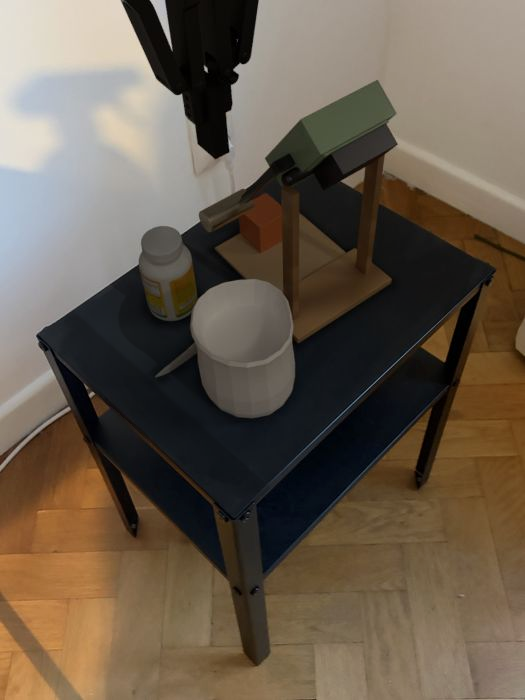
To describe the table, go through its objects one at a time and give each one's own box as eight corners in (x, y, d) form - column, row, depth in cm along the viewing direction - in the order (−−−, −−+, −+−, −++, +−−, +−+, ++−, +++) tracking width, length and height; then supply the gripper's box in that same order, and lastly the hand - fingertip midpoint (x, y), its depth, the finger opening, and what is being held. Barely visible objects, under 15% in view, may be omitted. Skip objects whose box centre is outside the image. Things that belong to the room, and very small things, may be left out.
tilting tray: (221, 258, 70) (192, 208, 69) (346, 186, 75) (319, 140, 75) (275, 212, 55) (239, 150, 55) (425, 128, 61) (393, 71, 60)
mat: (346, 255, 82) (346, 253, 81) (268, 303, 78) (268, 300, 78) (290, 207, 87) (290, 204, 86) (214, 250, 83) (214, 247, 83)
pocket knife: (255, 308, 78) (254, 296, 76) (260, 313, 77) (260, 301, 76) (152, 380, 73) (149, 369, 71) (157, 385, 72) (154, 374, 71)
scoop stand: (262, 308, 78) (255, 179, 63) (354, 252, 82) (366, 119, 68) (298, 343, 75) (298, 216, 60) (391, 283, 79) (412, 151, 65)
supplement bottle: (147, 324, 77) (130, 261, 69) (150, 285, 80) (134, 222, 72) (198, 321, 77) (187, 258, 69) (199, 283, 80) (188, 219, 72)
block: (237, 208, 80) (259, 227, 78) (266, 192, 82) (288, 211, 80) (239, 234, 84) (260, 253, 82) (267, 218, 85) (288, 237, 83)
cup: (253, 324, 76) (248, 260, 68) (319, 383, 72) (322, 321, 64) (181, 375, 73) (167, 314, 65) (245, 440, 68) (239, 383, 60)
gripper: (227, -217, 48) (248, 98, 66) (49, -163, 43) (125, 158, 62) (300, -187, 44) (300, 138, 63) (113, -124, 39) (173, 204, 58)
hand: (213, 147), depth 62 cm, fingers closed
